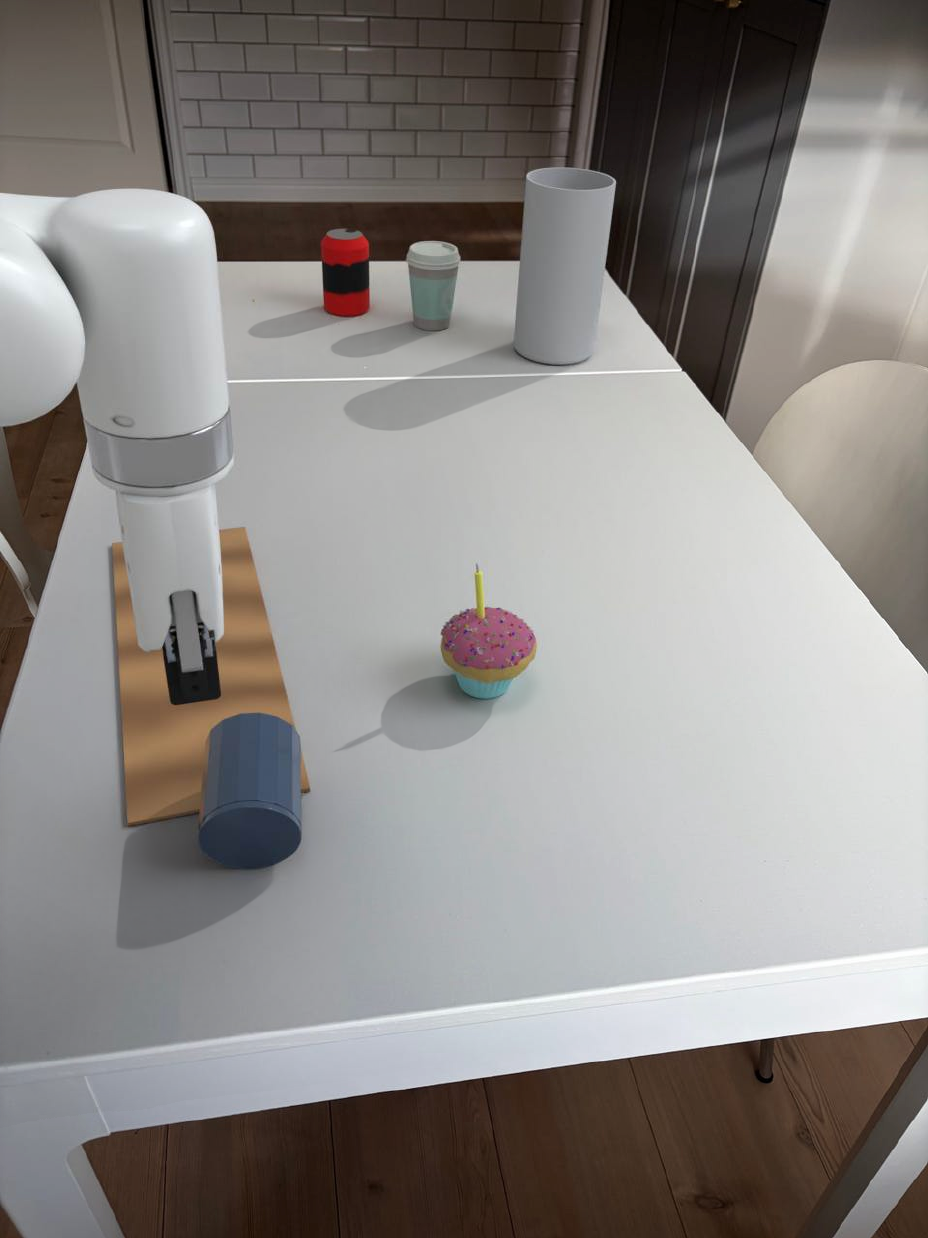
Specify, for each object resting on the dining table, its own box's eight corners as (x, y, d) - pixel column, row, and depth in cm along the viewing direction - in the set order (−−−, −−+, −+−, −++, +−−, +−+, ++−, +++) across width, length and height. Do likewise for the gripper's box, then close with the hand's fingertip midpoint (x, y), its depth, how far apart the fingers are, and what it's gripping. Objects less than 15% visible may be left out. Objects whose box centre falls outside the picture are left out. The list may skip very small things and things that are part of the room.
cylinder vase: (545, 372, 146) (563, 194, 131) (497, 343, 154) (508, 172, 139) (610, 357, 152) (634, 184, 137) (560, 329, 160) (578, 163, 145)
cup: (273, 795, 68) (275, 701, 74) (178, 826, 69) (188, 731, 75) (317, 850, 72) (315, 757, 79) (228, 879, 73) (233, 785, 80)
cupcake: (419, 677, 91) (421, 569, 83) (486, 640, 95) (494, 535, 88) (484, 727, 86) (492, 617, 78) (551, 685, 91) (565, 578, 83)
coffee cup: (446, 337, 155) (449, 260, 148) (396, 328, 158) (397, 251, 150) (466, 319, 162) (469, 244, 155) (417, 310, 164) (419, 236, 157)
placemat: (310, 791, 79) (310, 787, 79) (128, 826, 76) (127, 823, 75) (245, 529, 109) (245, 526, 109) (112, 546, 106) (111, 542, 105)
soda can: (377, 305, 165) (376, 231, 158) (357, 320, 160) (355, 243, 152) (336, 297, 167) (334, 224, 160) (315, 312, 162) (312, 236, 154)
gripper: (86, 387, 58) (130, 633, 69) (89, 516, 47) (141, 786, 58) (217, 378, 60) (239, 619, 71) (249, 501, 49) (270, 764, 60)
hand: (195, 693), depth 65 cm, fingers closed
